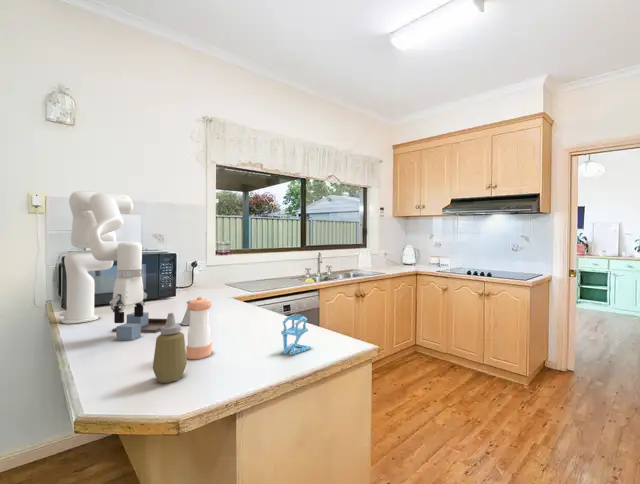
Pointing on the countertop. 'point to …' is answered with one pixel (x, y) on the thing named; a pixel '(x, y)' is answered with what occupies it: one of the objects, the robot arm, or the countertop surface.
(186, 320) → the flask
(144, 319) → the pad
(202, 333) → the pepper shaker
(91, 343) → the countertop surface
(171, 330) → the squeeze bottle
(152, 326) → the backing board
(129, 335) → the pad
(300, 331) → the chair
